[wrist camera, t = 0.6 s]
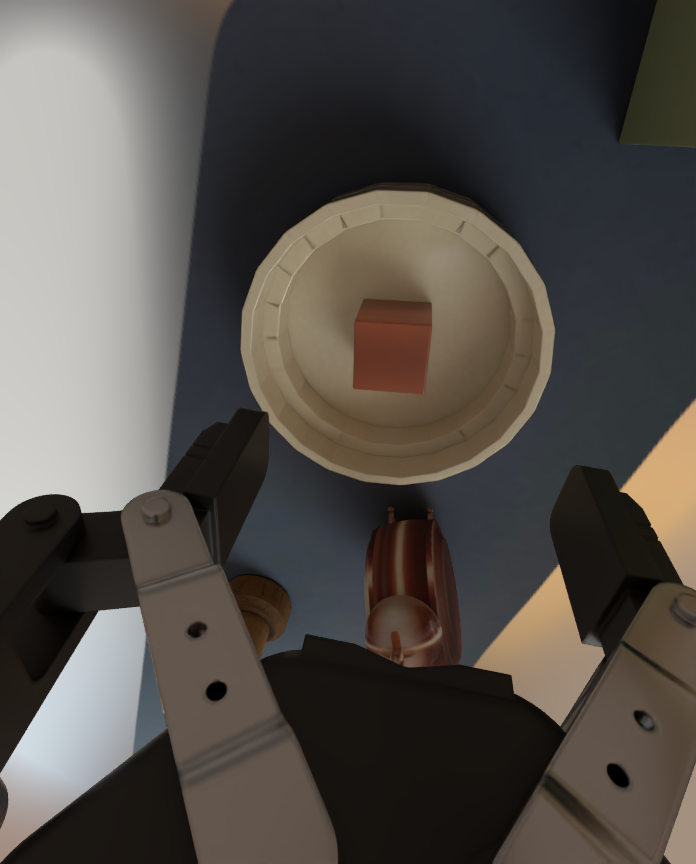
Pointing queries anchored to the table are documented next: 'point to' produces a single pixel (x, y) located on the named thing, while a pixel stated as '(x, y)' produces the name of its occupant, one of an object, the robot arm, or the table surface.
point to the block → (392, 346)
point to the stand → (665, 80)
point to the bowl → (450, 339)
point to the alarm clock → (411, 594)
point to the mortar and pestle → (261, 608)
